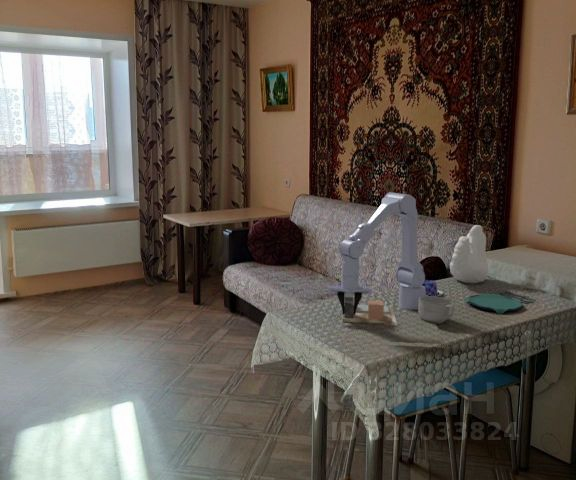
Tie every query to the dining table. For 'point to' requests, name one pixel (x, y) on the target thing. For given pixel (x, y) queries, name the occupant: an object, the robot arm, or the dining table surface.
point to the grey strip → (362, 307)
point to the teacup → (435, 309)
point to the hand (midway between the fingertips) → (349, 313)
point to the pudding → (431, 288)
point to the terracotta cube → (375, 309)
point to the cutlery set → (498, 301)
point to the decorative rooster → (470, 257)
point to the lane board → (392, 317)
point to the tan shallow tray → (361, 315)
